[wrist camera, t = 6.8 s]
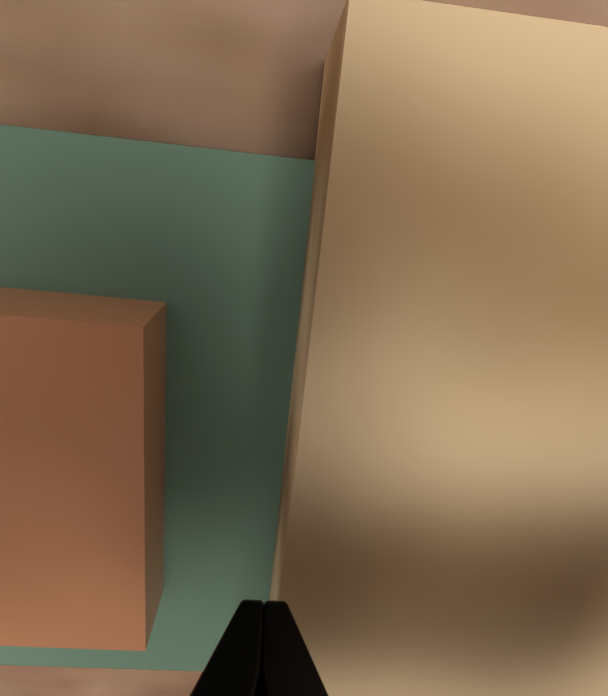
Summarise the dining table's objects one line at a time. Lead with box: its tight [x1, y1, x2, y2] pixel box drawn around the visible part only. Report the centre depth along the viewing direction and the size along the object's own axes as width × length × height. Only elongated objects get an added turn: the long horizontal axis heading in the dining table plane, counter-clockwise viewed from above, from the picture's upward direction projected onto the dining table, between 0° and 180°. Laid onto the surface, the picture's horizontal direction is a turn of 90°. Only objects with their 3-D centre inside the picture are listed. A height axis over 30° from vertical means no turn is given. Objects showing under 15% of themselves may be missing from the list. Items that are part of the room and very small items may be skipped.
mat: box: [0, 124, 315, 671], centre depth 13 cm, size 16×9×1 cm, turn 174°
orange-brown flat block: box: [0, 287, 166, 651], centre depth 12 cm, size 9×6×2 cm, turn 174°
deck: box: [269, 0, 608, 696], centre depth 12 cm, size 20×11×4 cm, turn 174°
